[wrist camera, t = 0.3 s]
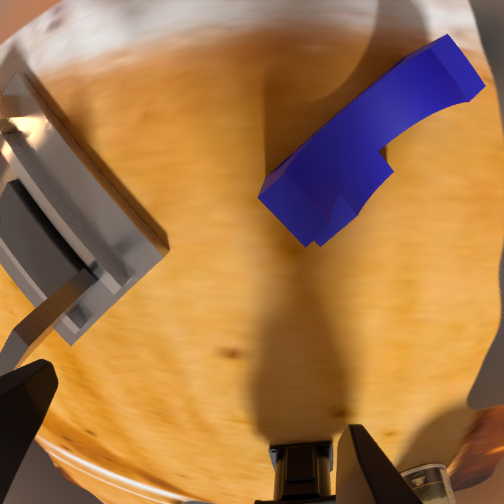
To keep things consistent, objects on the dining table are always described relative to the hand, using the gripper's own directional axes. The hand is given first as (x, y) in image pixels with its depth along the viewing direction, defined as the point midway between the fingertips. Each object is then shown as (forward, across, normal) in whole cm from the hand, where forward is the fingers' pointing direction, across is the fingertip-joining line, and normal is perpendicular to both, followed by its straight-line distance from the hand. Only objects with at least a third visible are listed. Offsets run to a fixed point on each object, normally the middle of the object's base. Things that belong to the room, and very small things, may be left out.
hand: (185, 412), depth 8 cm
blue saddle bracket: (+14, -6, -8) cm, 17 cm away
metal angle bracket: (+12, +15, +1) cm, 19 cm away
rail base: (+13, +17, 0) cm, 21 cm away
